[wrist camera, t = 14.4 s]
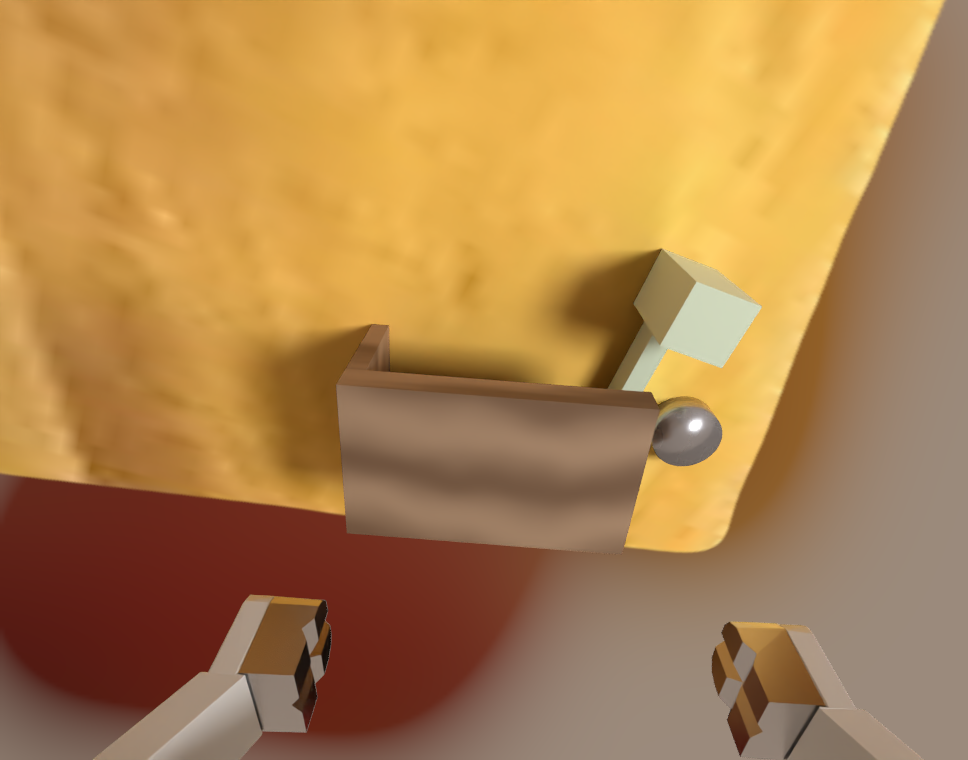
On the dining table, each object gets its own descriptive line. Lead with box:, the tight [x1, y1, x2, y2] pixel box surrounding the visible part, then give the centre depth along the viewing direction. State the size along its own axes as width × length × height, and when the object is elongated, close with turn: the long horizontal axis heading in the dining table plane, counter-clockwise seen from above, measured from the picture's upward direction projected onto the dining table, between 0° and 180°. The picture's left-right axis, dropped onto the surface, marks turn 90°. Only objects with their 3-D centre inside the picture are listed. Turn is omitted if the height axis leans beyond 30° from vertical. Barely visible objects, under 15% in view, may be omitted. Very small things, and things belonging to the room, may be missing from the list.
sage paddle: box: [608, 249, 762, 392], centre depth 35 cm, size 16×4×7 cm, turn 160°
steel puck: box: [651, 397, 722, 466], centre depth 40 cm, size 5×5×2 cm
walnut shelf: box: [336, 324, 660, 555], centre depth 36 cm, size 11×18×9 cm, turn 86°
